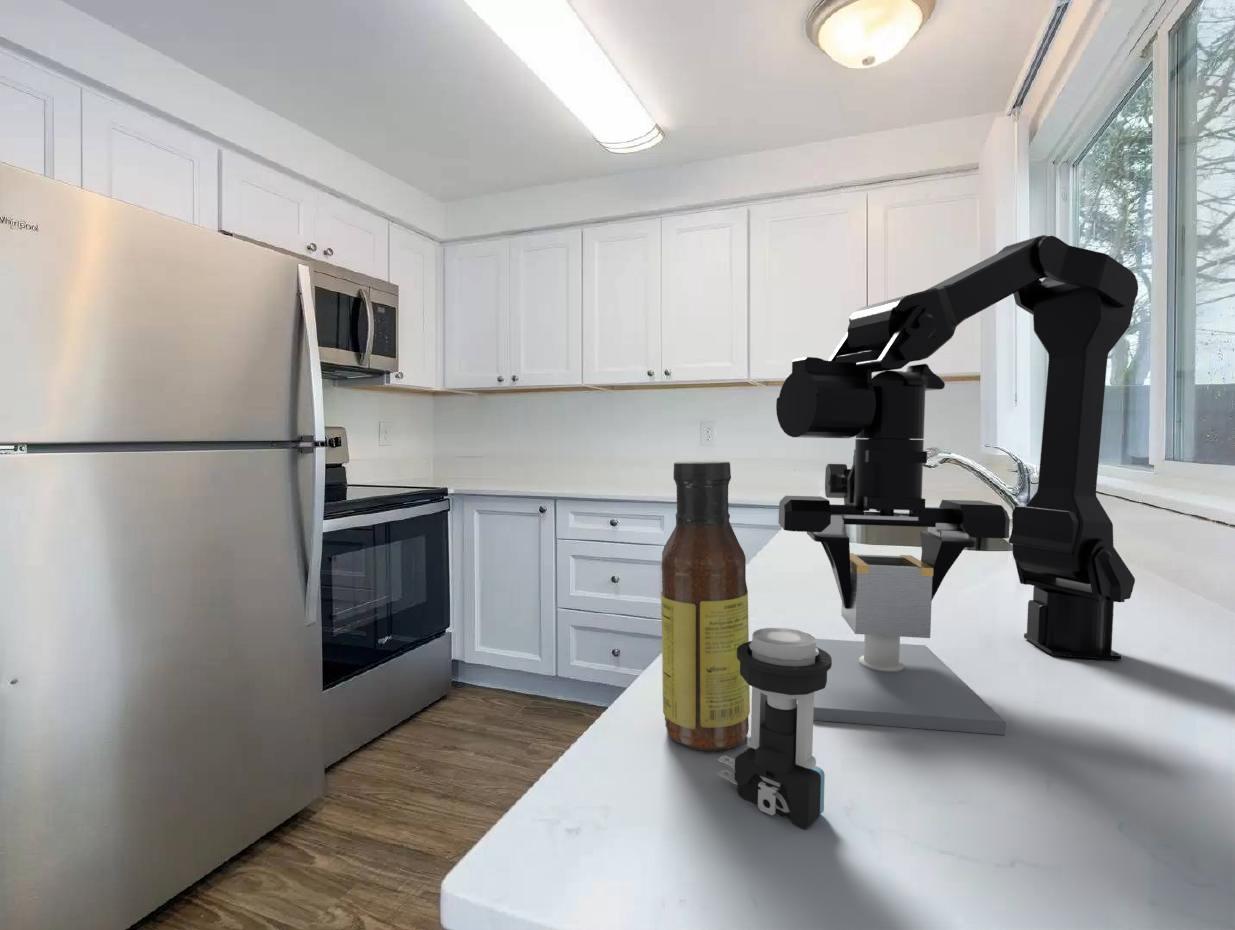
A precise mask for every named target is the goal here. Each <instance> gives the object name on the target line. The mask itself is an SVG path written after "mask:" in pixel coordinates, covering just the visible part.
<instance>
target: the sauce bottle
mask: <svg viewBox="0 0 1235 930" xmlns="http://www.w3.org/2000/svg"><path fill="white" fill-rule="evenodd" d="M731 479H732V474H731V463H730V461H727V460H682V461H681V460H679V461H675V462H674V463H673V480H674V482H675V485H676V513H675V523H676V525H675V526H674V529H673V531H672V532H671V534H670V536H669V537H668V539H667V541H666V543H665V545H664V546H663V550H662V552H661V568H660V569H661V579H662V580H661V584H662V585H661V587H662V588H661V589H662V590H661V592H660V609H661V613H660V614H661V646H662V647H661V650H662V652H661V654H662V655H661V657H662V658H661V660H662V661H661V664H662V683H661V684H662V714H663V715H664V721H665V722H664V723H665V727H666V731H667V733H668V736H669V737H670V738H671V739H672V740H673V742H674V743H677V744H678V743H679V744H681V745H685V746H686V747H691V748H693V749H695V750H700V751H721V750H723V751H725V750H728V749H732V748H735V747H737V746H739V745H741V744H742V743H743V742H744V741H745V740H747V736H748V734H749V728H750V727H749V725H750V723H749V721H750V720H749V715H750V714H751V713H750V712H751V705H750V704H751V699H750V697H751V696H750V689H751V688H750V685H749V684H748V683H747V682H746V681H745V680H744V678H743V677H742V676H741V675H740V661H739V660H738V659H737V648H738V646H740V645H741V644H743V643H746V642H749V640H750V639H749V594H748V591H749V590H748V586H747V580H746V578H747V577H746V574H747V573H746V567H747V566H746V564H747V563H746V561H747V560H746V559H747V557H746V554H745V552H744V550H743V548H742V545H741V544H740V542H739V540H738V538H737V536H736V533H735V531H734V529H733V527H732V525H731V522H730V518H731V515H730V513H729V485H730V481H731Z"/></svg>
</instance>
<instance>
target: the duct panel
mask: <svg viewBox="0 0 1235 930" xmlns="http://www.w3.org/2000/svg"><path fill="white" fill-rule="evenodd" d="M815 639H816V647H817V648H820V649H822V650H824V651H825V652H827V653H828V654H829V655H830V656H831V658H832V666H831V668H830V669H829V670H828V671H827V683H826V687H825V688H824V689H821V690H818V691H816V692H814V712H813V721H822V722H834V723H846V724H861V725H862V724H863V725H873V726H886V727H897V728H898V727H899V728H909V729H910V728H911V729H922V730H923V729H924V730H937V731H946V732H947V731H949V732H960V733H963V732H964V733H974V734H975V733H976V734H986V735H987V734H988V735H1000V736H1001V735H1002V736H1005V735H1006V721H1005V719H1004V718H1003V717H1001V716H1000V715H999V714H998V713H997V712H996V711H995V710H994V709H993V708H992V707H991V706H990V705H988V703H987V702H985V700H983V698H981V697H980V696H979V695H978V694H977V693H976V692H975V691H974V690H973V689H972V688H971V687H970V686H969V685H968V684H967V683H966V682H964V681H963V679H962V678H960V677H959V676H958V675H957V674H956V673H955V672H954V671H953V670H952V669H951V668H950V667H949V666H948V665H947V664H946V663H944V661H942V660H941V659H940V658H939V657H938V656H937V654H935V653H934V652H933V651H932V650H931V649H930V648H929V647H928V646H926V645H925V644H909V643H901V637H899V636H881V635H864V640H863V641H861V640H845V639H844V640H843V639H829V638H826V639H825V638H815Z"/></svg>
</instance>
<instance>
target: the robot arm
mask: <svg viewBox="0 0 1235 930" xmlns="http://www.w3.org/2000/svg"><path fill="white" fill-rule="evenodd" d="M1042 279H1043V280H1042ZM1138 292H1139V284H1138V279H1137V276H1136V274H1134V272H1133V271H1132V270H1131V269H1129V268H1128V267H1126V266H1125V265H1123V264H1122V263H1121V262H1119V261H1117V260H1116V259H1115V258H1114V257H1111V255H1109V254H1107V253H1103V252H1100V251H1096V250H1091V249H1086V248H1082V247H1078V246H1073V245H1069V244H1067V243H1066V242H1065V241H1063V240H1062V239H1060V238H1058V237H1057V236H1054V235H1046V234H1043V235H1039V236H1035V237H1032V238H1028V239H1026V240H1022V241H1020V242H1019V241H1018V242H1016V243H1012V244H1009V245H1006V246H1004V247H1003V248H1002V249H1001V250H999V251H998V252H997V253H996V254H994V255H992V256H989V257H988V258H986V259H984V260H982V261H980V262H978V263H976V264H974V265H972V266H970V267H968V268H966V269H965V270H962V271H959V272H958V273H957V274H954V275H952V276H950V277H949V278H946V279H944V280H942V281H941V282H939V283H937V284H935V285H933V286H931V287H929V288H927V289H925V290H922V291H919V292H918V291H917V292H914V293H911V294H907V295H904V296H900V297H895V298H893V299H892V298H891V299H888V300H884V301H881V302H877V303H873V304H869V305H867V306H866V305H865V306H863V307H860V308H858V309H857V310H856V311H854V312H853V313H852V314H851V316H849V318H848V321H849V325H848V326H847V332H846V333H845V335H844V336H843V338H842V339H841V341H840V342H839V344H838V345H837V346H836V348H835V350H833V353H832V354H831V356H830V357H829V358H828V360H826V359H823V358H820V357H814V356H813V357H810V356H805V357H801V358H795V359H793V360H792V361H791V373H790V374H789V376H787V377H786V379H785V380H784V382H783V383H782V386H781V389H780V391H779V396H778V397H777V398H776V401H775V403H776V404H775V407H776V408H775V410H776V418H777V421H778V424H779V426H780V428H781V430H782V431H783V433H784V434H786V435H787V436H788V437H791V438H808V439H809V438H810V439H812V438H813V439H815V438H816V439H819V438H820V439H851V438H855V442H854V443H855V444H854V445H855V446H854V447H855V448H854V450H853V457H852V459H853V461H852V465H851V468H848V465H847V464H846V463H828V464H826V466H825V476H824V490H825V491H824V492H825V497H826V498H825V497H823V496H817V495H816V496H815V495H814V496H813V495H812V496H810V495H784V496H783V497H782V498H781V500H780V501H779V502H778V503H779V505H778V525H780V527H781V528H782V529H783V530H784V531H788V532H802V533H806V535H808V536H809V537H810V538H811V539H812V540H813V541H814V542H817V543H821V545H822V547H823V550H824V552H825V554H826V556H827V559H828V561H829V563H830V566H831V570H832V573H833V577H834V579H835V583H836V586H837V587H836V588H837V590H838V593H839V596H840V599H841V604H842V603H843V606H844V608H845V609H850V602H851V570H850V553H851V552H850V551H851V550H850V549H851V546H850V537H849V536H848V535H846V534H845V533H844V525H850V526H851V525H853V526H854V525H858V526H883V527H884V526H885V527H887V526H888V527H914V528H915V527H916V528H919V527H921V528H927V531H923V530H922V531H921V530H920V531H919V537H920V544H921V545H920V546H921V557H920V558H921V559H920V561H922V562H923V563H925V564H927V565H929V566H930V567H932V568H933V576H932V600H933V599H934V597H935V595H936V594H937V592H938V590H939V588H940V586H941V584H942V582H943V580H944V578H945V577H946V575H947V574H948V572H949V570H950V569H951V568H952V566H953V565H954V563H955V562H956V561H957V559H958V557H959V556H960V555H961V554H962V552H963V551H964V549H965V548H966V549H967V548H975V547H976V542H977V541H976V540H973V539H971V538H974V539H975V538H978V539H979V538H980V539H1008V544H1011V546H1012V547H1011V548H1012V552H1011V553H1012V557H1013V560H1014V562H1015V566H1016V570H1017V575H1018V579H1019V583H1020V584H1021V585H1025V586H1028V585H1029V586H1033V591H1032V592H1033V595H1032V599H1029V600H1028V602H1027V619H1026V622H1027V623H1026V632H1024V634H1023V638H1024V639H1026V640H1027V641H1029V643H1030V642H1031V643H1032V644H1034V645H1035V646H1037V648H1040V649H1042V650H1043V651H1044V652H1046V653H1047V654H1050V656H1055V657H1066V658H1067V657H1068V658H1069V657H1070V658H1083V659H1084V658H1085V659H1098V660H1099V659H1100V660H1122V654H1120V653H1119V652H1117V651H1115V650H1113V649H1112V647H1113V629H1114V627H1113V626H1114V608H1115V607H1114V606H1115V603H1124V602H1125V600H1129V599H1131V597H1132V593H1133V590H1134V587H1135V582H1136V578H1135V577H1134V575H1133V574H1132V572H1131V570H1130V569H1129V568H1128V566H1127V565H1126V563H1125V562H1124V560H1123V558H1122V557H1121V555H1120V554H1119V553H1118V551H1117V549H1116V548H1115V546H1114V524H1113V522H1112V520H1111V518H1110V517H1109V515H1108V513H1107V512H1106V510H1105V509H1104V507H1103V505H1102V503H1101V502H1100V500H1099V499H1098V497H1097V483H1098V472H1099V461H1100V449H1101V437H1102V425H1103V416H1104V415H1103V414H1104V403H1105V392H1106V390H1105V389H1106V379H1107V378H1106V377H1107V370H1108V369H1107V368H1108V358H1109V354H1110V352H1111V351H1112V350H1113V348H1114V347H1115V346H1116V345H1117V343H1118V342H1119V341H1120V339H1121V338H1122V337H1123V335H1124V334H1125V333H1126V332H1127V330H1128V329H1129V328H1130V325H1131V323H1132V319H1133V312H1134V308H1135V303H1136V298H1137V296H1138ZM1011 295H1013V298H1014V301H1015V304H1016V306H1018V307H1019V308H1021V309H1022V310H1024V311H1026V312H1027V313H1029V314H1031V315H1032V317H1033V320H1032V321H1033V332H1034V334H1035V335H1036V337H1037V338H1038V340H1039V341H1040V343H1041V345H1042V346H1043V349H1045V351H1046V353H1047V355H1048V363H1047V374H1046V375H1047V376H1046V386H1045V399H1044V400H1045V401H1044V410H1043V422H1042V423H1043V424H1042V433H1041V434H1042V435H1041V446H1040V447H1041V448H1040V458H1039V470H1038V483H1037V489H1036V492H1035V493H1034V495H1033V496H1031V498H1030V500H1028V502H1027V503H1026V505H1017V504H1016V506H1014V508H1013V511H1012V513H1011V517H1012V518H1011V519H1012V522H1011V523H1012V525H1011V526H1012V527H1011V534H1010V516H1009V513H1008V511H1007V510H1006V509H1005V507H1004V506H1003V505H1001V504H997V503H994V502H993V503H992V502H988V501H983V500H971V499H970V500H969V499H967V500H966V499H965V500H964V499H963V500H962V499H958V500H957V499H942V500H941V501H940V505H939V506H938V507H931V506H926V498H923V477H924V476H923V475H924V474H923V472H924V470H923V469H924V464H927V463H928V462H927V460H928V459H927V458H928V451H925V450H924V445H925V443H924V441H925V440H924V439H925V411H926V409H925V408H926V391H935V390H936V391H938V390H943V389H944V388H945V386H946V385H945V381H944V380H942V378H941V377H940V376H938V375H937V374H936V373H934V372H933V371H932V369H931V368H930V366H929V365H928V364H927V363H921V364H914V365H908V364H909V363H912V362H918V361H922V360H925V359H928V358H929V357H931V356H932V355H934V353H936V352H937V351H938V350H939V349H941V348H942V347H943V346H945V344H946V343H947V342H949V341H950V340H952V338H953V337H954V334H955V331H956V329H957V327H958V326H959V325H960V324H962V323H963V322H964V321H965V320H967V319H969V318H971V317H973V316H975V315H976V314H978V313H980V312H981V311H984V310H986V309H988V308H989V307H991V306H993V305H995V304H996V303H998V302H1001V301H1003V300H1004V299H1006V298H1008V297H1009V296H1011ZM907 365H908V366H907ZM905 366H907V367H906V369H904V371H902V370H901V371H900V369H903V368H904V367H905ZM873 373H877V374H875V375H874V376H873V377H872V375H873ZM827 498H831V499H843V503H844V504H831V502H830V500H829V499H827ZM870 510H874V511H870ZM897 510H898V511H909V512H896V511H897ZM970 537H971V538H970Z"/></svg>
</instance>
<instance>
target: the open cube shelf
mask: <svg viewBox="0 0 1235 930" xmlns="http://www.w3.org/2000/svg"><path fill="white" fill-rule="evenodd" d="M850 570H851V602H850V609H845V608H844V606H843V603H842V602H841V615H840V616H841V617H842V619H844V620H845V622H846V623H847V624H848V626H849V627H850V629H851V631H852V632H853V633H854V634H855V635H864V636H865V635H881V636H899V637H900V638H901V637H902V638H904V637H905V638H921V639H931V632H932V631H931V626H932V625H931V624H932V623H931V622H932V601H933V599H932V576H933V568H932V567H930V566H929V565H927V564H925V563H923V562H922V561H921V559H919V558H916V557H915V556H913V555H910V554H909V555H908V554H900V555H886V554H885V555H879V554H858V553H857V554H856V553H854V552H850Z"/></svg>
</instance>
